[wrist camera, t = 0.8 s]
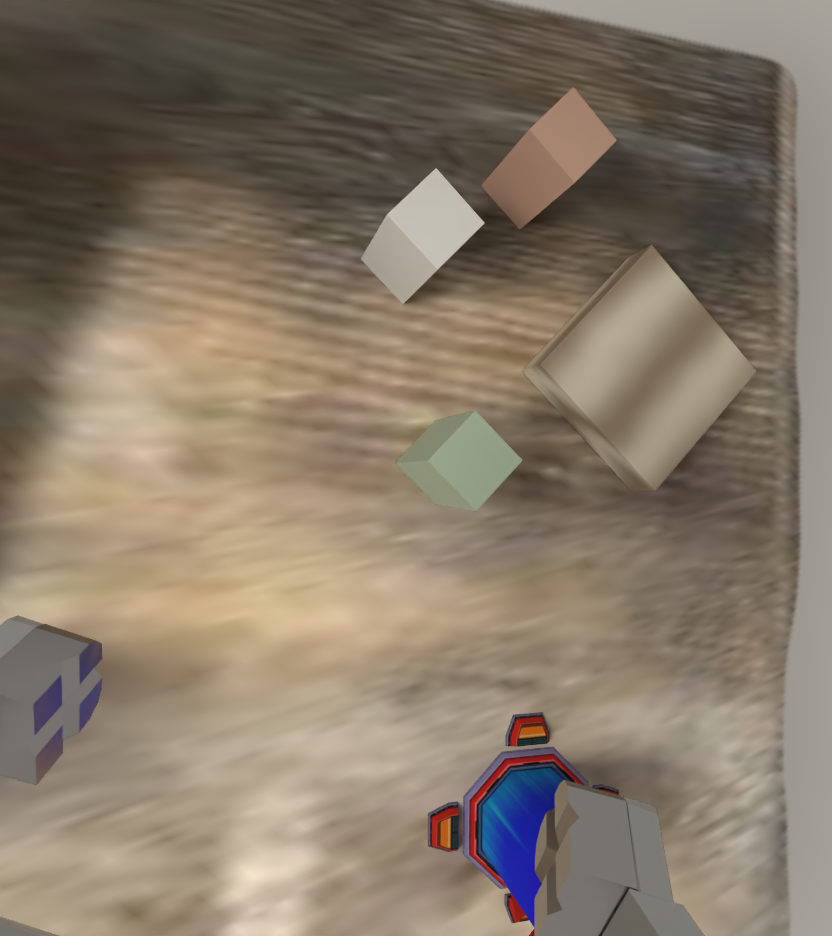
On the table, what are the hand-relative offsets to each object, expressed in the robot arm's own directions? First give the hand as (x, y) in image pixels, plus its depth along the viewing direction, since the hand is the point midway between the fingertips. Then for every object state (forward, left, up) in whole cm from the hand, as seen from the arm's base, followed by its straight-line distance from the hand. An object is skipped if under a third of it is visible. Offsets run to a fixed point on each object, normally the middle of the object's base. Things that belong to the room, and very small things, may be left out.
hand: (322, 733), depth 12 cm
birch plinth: (+11, +27, -33) cm, 44 cm away
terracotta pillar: (-4, +30, -33) cm, 45 cm away
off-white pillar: (-6, +20, -33) cm, 39 cm away
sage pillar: (+5, +12, -33) cm, 35 cm away
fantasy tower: (+27, -1, -33) cm, 42 cm away
